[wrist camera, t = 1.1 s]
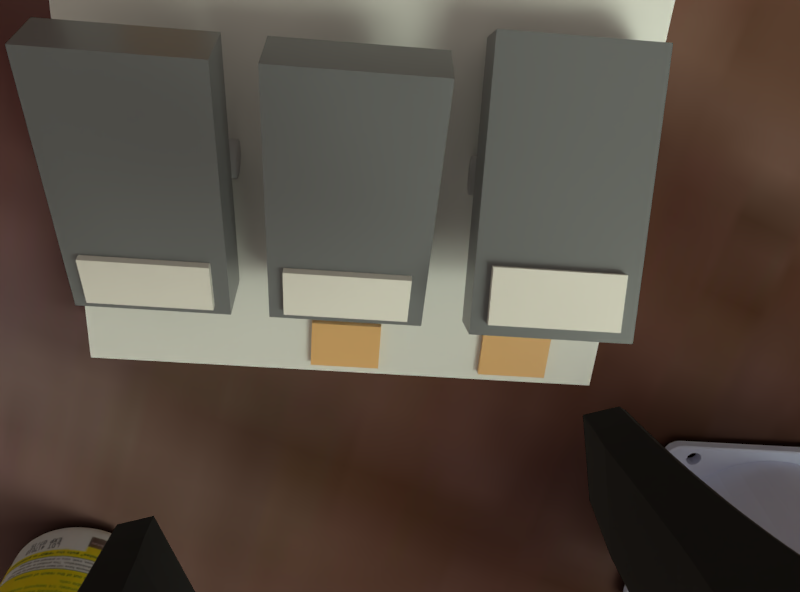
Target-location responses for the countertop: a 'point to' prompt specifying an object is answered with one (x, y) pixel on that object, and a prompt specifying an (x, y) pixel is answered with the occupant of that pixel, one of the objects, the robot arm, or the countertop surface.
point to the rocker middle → (351, 176)
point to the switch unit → (443, 307)
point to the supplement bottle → (55, 561)
